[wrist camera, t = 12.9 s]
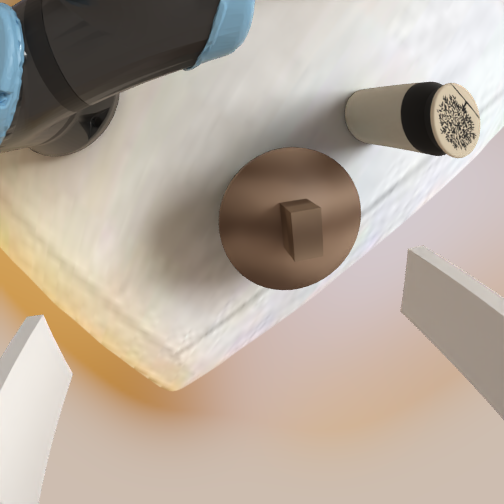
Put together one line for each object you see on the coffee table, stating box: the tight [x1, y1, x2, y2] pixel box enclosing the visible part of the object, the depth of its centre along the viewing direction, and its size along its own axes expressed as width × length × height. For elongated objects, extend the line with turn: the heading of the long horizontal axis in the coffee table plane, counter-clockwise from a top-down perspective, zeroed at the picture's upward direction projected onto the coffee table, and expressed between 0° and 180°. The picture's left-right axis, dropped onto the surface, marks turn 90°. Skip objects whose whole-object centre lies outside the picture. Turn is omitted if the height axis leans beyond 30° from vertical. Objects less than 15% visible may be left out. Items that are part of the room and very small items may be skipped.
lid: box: [219, 147, 361, 290], centre depth 33 cm, size 16×16×5 cm
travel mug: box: [345, 82, 480, 158], centre depth 32 cm, size 8×8×18 cm
